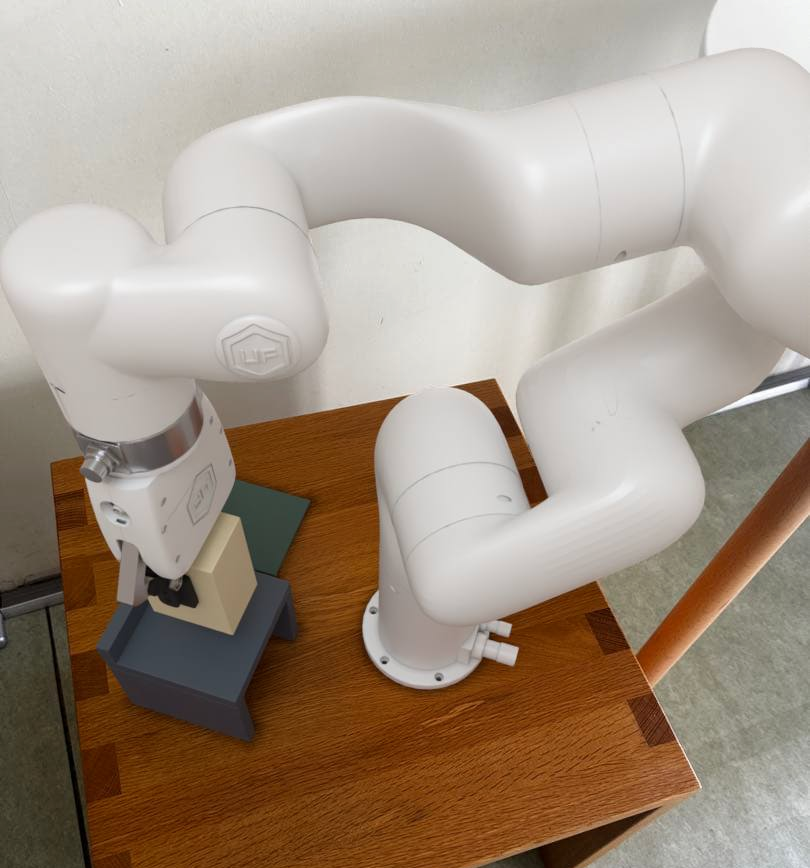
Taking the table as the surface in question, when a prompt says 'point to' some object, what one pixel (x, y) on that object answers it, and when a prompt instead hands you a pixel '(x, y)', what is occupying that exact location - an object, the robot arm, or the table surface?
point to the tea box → (218, 579)
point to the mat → (266, 522)
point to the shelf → (197, 658)
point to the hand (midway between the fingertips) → (195, 567)
